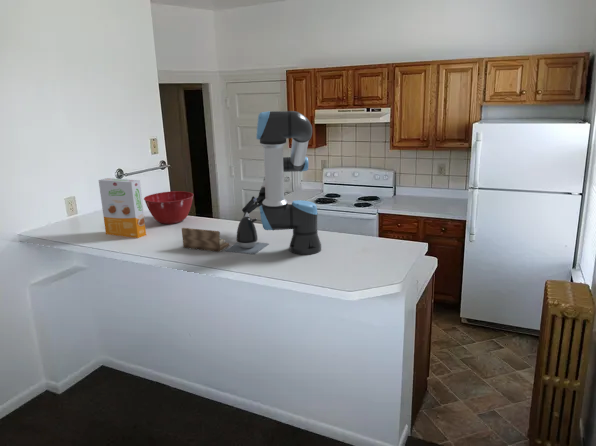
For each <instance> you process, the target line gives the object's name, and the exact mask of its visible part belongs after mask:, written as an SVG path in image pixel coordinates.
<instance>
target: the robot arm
mask: <svg viewBox="0 0 596 446" xmlns="http://www.w3.org/2000/svg"><path fill="white" fill-rule="evenodd" d="M257 116H258V117H257V123H256V124H257V125H256V140H258V141H259V144H260V146H262V147H263V167H264V178H263V181H262V183H261V187H260V189H259V192H258V196H257V197H255V196H252V197H251V199H250V200H249V201H248V202H247V203H246V204H245V206H244V207H243V208H242V209H241V211H242V213H243V217H250V213H252V212H253V211H255V210H256V209H258V208H259V215H260V220H261V225H262V229H263V230H265V231H282V230H283V231H284V230H287V231H288V230H292V236H291V240H290V243H289V251H290V252H291V253H293V254H297V255H314V254H316V253H319V252H321V251H322V242H321V240H320V237H319V233H318V206H317V204H316V203H315V202H312V201H308V200H304V199H303V200H300V199H299V200H292V202H291V204H290V203H288V200H287V199H286V198H285V184H284V183H285V179H284V173H293V172H296V173H297V172H299V173H300V172H301V173H302V172H307V171H308V170H309V167H310V165H309V157H307V151H308V146H309V141H310V140H311V139H312V136H313V125H312V124H311V121H310V119H308V117H306V116H305V115H304V114H302V113H300V112H299V111H295V110H284V111H282V110H281V111H279V110H278V111H277V110H275V111H274V110H273V111H270V110H268V111H262V112H259V113H258V115H257ZM287 139H292V140H291V149H290V156H284V146H285V145H286V144H287ZM243 217H242V218H243Z"/></svg>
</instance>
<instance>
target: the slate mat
mask: <svg viewBox="0 0 596 446" xmlns="http://www.w3.org/2000/svg"><path fill="white" fill-rule="evenodd" d="M269 245H270V243H267V242H258V241H257V243H256V245H255V246H254V247H252V248H242V247H240V246H239V244H238V242H237V241H236V243H234V244H233V245H231V246H228V247H227V248H225V249H224V252H230V253H239V254H247V255H248V254H249V255H256V254H257V253H259V252H261V251H262V250H263V249H265V248H266V247H267V246H269Z"/></svg>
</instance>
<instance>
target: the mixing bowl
mask: <svg viewBox="0 0 596 446" xmlns="http://www.w3.org/2000/svg"><path fill="white" fill-rule="evenodd" d="M143 200H144V202H145V205H146V207H147V208H148V211H149V213H150V214H151V216H152V217H153V219H154V220H156V221H157V222H158V223H160V224H163V225H173V224H178V223H179V224H180V223H181V222H184V220H185V219H187V217H188V215H189V213H190V211H191V209H192V208H191V207H192V204H193V200H194V193H192V192H190V191H183V190H182V191H181V190H177V191H176V190H174V191H173V190H172V191H162V192H158V193H157V192H155V193H152V194H149V195H145V197H144V198H143Z"/></svg>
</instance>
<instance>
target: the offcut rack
mask: <svg viewBox="0 0 596 446" xmlns="http://www.w3.org/2000/svg"><path fill="white" fill-rule="evenodd" d="M181 236H182V246H183V249H189V248H191V250H197V249H199V250H200V251H205V252H206V251H207V252H215V253H216V252H217V253H220V252H222V251H223V250H226V249H227V248H229V247H230V242H226V241H225V240H226V239H225V238H220V237H221V232H220V231H219V230H211V229H199V228H190V227H182V228H181Z"/></svg>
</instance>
